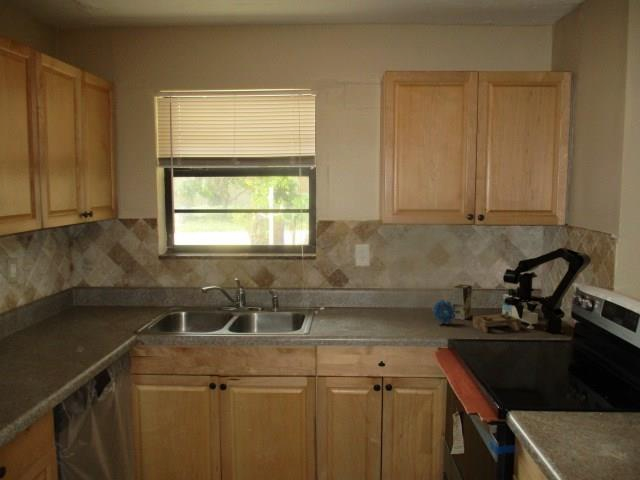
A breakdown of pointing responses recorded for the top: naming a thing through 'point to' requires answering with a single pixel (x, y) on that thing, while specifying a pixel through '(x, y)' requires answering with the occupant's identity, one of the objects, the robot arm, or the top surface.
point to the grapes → (444, 311)
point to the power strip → (526, 317)
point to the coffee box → (462, 301)
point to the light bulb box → (510, 306)
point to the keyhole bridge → (495, 321)
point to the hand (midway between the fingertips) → (524, 318)
